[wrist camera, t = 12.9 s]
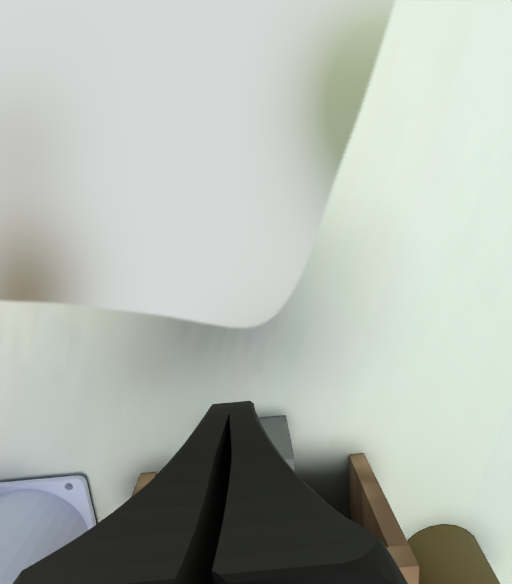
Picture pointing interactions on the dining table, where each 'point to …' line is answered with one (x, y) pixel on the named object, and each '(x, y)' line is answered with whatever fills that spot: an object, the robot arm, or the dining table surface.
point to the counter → (365, 514)
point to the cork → (450, 557)
